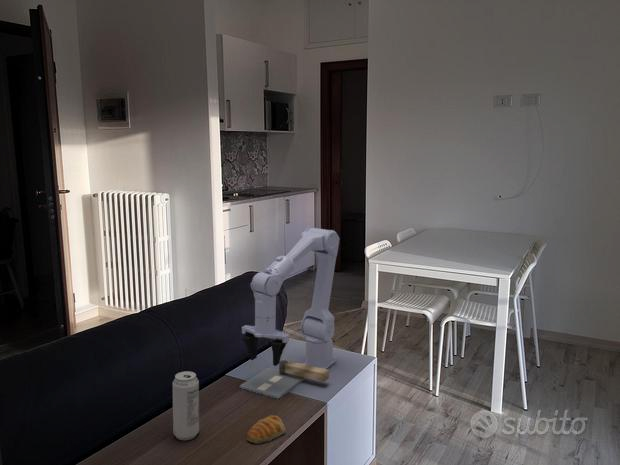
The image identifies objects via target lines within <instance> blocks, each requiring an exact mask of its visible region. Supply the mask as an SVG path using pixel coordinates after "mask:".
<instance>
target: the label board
mask: <svg viewBox="0 0 620 465" xmlns="http://www.w3.org/2000/svg"><path fill="white" fill-rule="evenodd" d="M305 379H306V378H305V377H301V376H297V375H293V374H289V373H287V374H280V373H279V369H276V368H273V367H269V366H268V367H266V368H265V369H263V370H262V371H259V372H258V373H257V374H256V375H255V374H254V376H252V377H251V378H250V379H247V380H246V381H245V382H243V383H242V384H239V389H240V388H242V389H241V390H244V389H246V390H245V391H247V390H249V391H248V392H251V391H252V393H254V392H256V393H255V394H258V393H260V394H259V395H261V394H263V395H262V396H265V395H266V396H265V397H268V396H270V397H269V398H272V397H273V398H272V399H275V398H276V400H279V398H280V397H281V398H282V397H283V395H284V396H285V395H286V394H288V393H289V392H290V391H292V389H294V388H296V387H297V386H298V385H299V384H301V383H302V382H303V381H304V380H305ZM281 398H280V399H281Z"/></svg>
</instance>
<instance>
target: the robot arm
mask: <svg viewBox="0 0 620 465" xmlns="http://www.w3.org/2000/svg"><path fill="white" fill-rule="evenodd" d="M339 246H340V237H339V235H338V233H337V232H336V230H333V229H324V228H317V227H313V226H308V227H306V229H305V230H304V231H303V232H301V236H300V239H299V241H297V243H296V244H295V245H294V246H293V247H292V248H291V250H290V251H289V252H288V253H287V254H286V255H279V256H277V257H276V258H275V260H274V261H273V262H272V263H271V264H270V265H269V266H267V267H266V268H265V270H263V272H262V271H260V272H258V273H256V274H255V275H254V276H253V277H252V279H251V282H250V288H251V290H252V291H253V297H254V325H247V324H245V325H243V326H241V334H244V335H243V336H242V340H243V342H244V344H245V346H246V348H247V351H248V353H249V358H250V361H254V360H256V359H257V357H258V342H259V338H266V339H271V340H274V341H273V342H271V343H270V347H271V349H272V364H273V365H272V366H274V367H277V366H279V362H280V361H281V358H282V354H283V351H284V349H285V347H286V346H287V344H288V342H290V334H289V333H286V332H283V331H281V330H279V329H277V328H276V325H277V324H276V318H277V316H276V312H277V307H276V306H277V294H278V293H279V292H280V291H281V287H282V285H283V283H284V281H285V280H286V279H287V278H288V277H289V276H290V275H291V274H292V273H293V272H294V271H295V265H296V263H298V262H299V261H300V260H301V259H302V258H304V257H305V256H307V254H309V253H310V252H311V251H312V252H313V253H314V254H315V255H316V257H317V258H318V261H317V268H316V273H315V274H316V275H315V282H314V288H313V295H312V299H311V300H312V301H311V307H310V308H309V309H307V310H305V311H304V314H303V315H304V316H303V318H302V319H301V322H300V331H301V334H303V338H304V339H305V357H304V358H305V359H304V360H305V361H304V362H302V364H305V365H309V366H313V367H318V368H322V369H327V370H328V369H329V367H331V366H333V364H335V363H336V361H335V360H334V359H333V351H334V350H333V346H334V342H333V337H334V334H335V330H336V329H335V316H334V315H333V314H332V313H331V311H330V310H329V307H330V301H331V295H332V287H333V282H334V276H335V275H334V274H335V269H336V267H335V266H336V260H337V256H338V251H339Z"/></svg>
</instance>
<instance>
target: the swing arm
mask: <svg viewBox="0 0 620 465" xmlns="http://www.w3.org/2000/svg"><path fill="white" fill-rule="evenodd" d="M278 368H279V369H278V370H279V373H280V374H287V373H289V374H293V375H297V376H301V377H305V379H311V380H315V381H318V382H323V383H325V382H326V381H327V380H329V378H330V370H329V369H328V368H327V369H322V368H318V367H313V366H309V365H305V364H303V363H299V362H295V361H292V360H290V361H288V360H285V359H284V360H280V362H279V364H278Z"/></svg>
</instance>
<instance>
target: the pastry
mask: <svg viewBox="0 0 620 465" xmlns="http://www.w3.org/2000/svg"><path fill="white" fill-rule="evenodd" d="M285 433H286V428H285V424H284V423H283V420H282V418H280V417H279V416H278V415H272V414H271V415H269V416H267V417H265V418H262V419H259V420H257V422H256V423H254V424H253V426H252V427H250V428H249V430H248V431H247V432H246V441H248V442H250V443H253V444H261V443H265V442H266V443H267V442H271V441H272V439H273V440H275V439H277V438H276V437H278V438H280V437H281V436H280V435H282V434H283V435H284V434H285ZM283 435H282V436H283ZM279 436H280V437H279ZM274 438H275V439H274Z"/></svg>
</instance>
